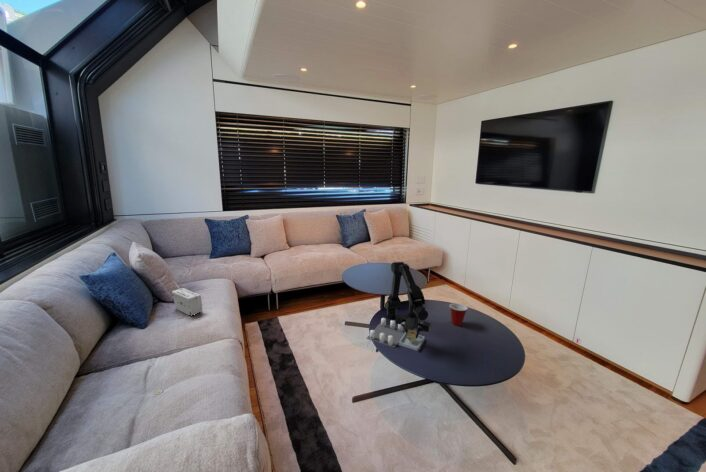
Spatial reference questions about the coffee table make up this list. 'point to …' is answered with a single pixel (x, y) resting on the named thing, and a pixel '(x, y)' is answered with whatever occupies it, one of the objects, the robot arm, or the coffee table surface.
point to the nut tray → (411, 342)
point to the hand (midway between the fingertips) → (411, 336)
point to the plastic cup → (457, 313)
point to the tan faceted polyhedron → (411, 335)
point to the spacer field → (387, 333)
